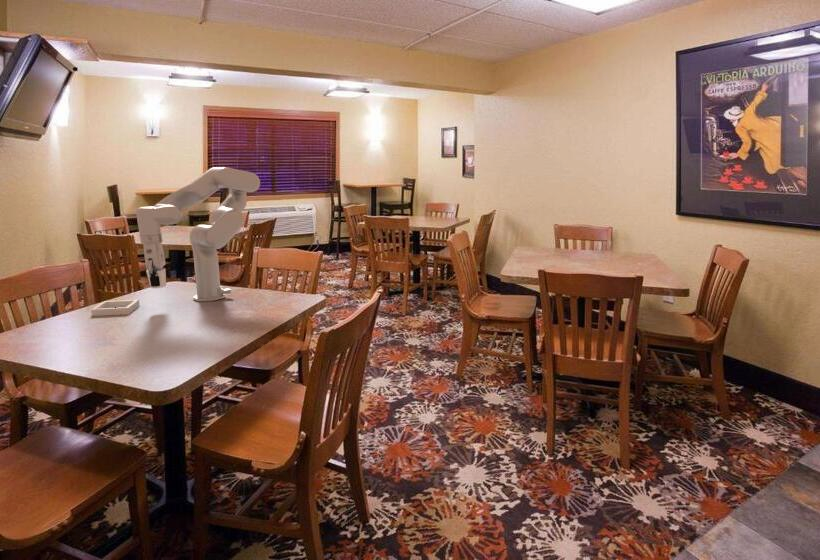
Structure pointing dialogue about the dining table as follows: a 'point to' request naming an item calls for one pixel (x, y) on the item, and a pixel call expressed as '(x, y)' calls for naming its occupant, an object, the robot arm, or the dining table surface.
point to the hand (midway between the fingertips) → (158, 283)
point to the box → (110, 309)
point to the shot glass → (161, 277)
